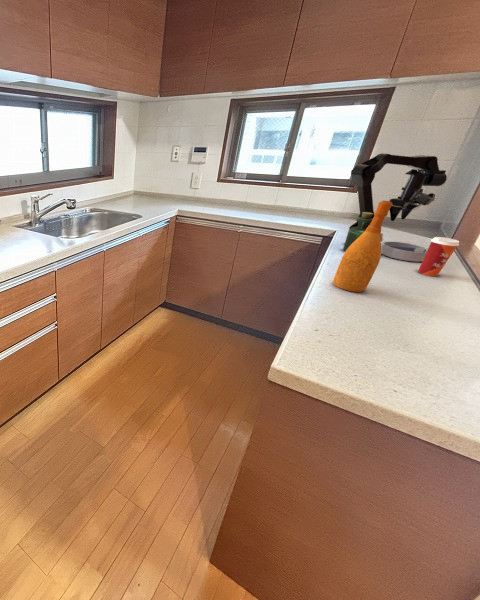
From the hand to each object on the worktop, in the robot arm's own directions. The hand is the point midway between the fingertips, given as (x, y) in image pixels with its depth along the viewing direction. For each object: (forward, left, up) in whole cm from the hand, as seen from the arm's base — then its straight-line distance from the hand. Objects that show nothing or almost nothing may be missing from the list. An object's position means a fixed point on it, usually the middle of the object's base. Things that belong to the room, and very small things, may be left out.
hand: (397, 220), depth 154 cm
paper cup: (-27, -26, -13) cm, 40 cm away
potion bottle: (-26, +2, -13) cm, 29 cm away
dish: (-11, -11, -13) cm, 20 cm away
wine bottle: (-72, -20, -13) cm, 76 cm away
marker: (-11, -6, -11) cm, 17 cm away
